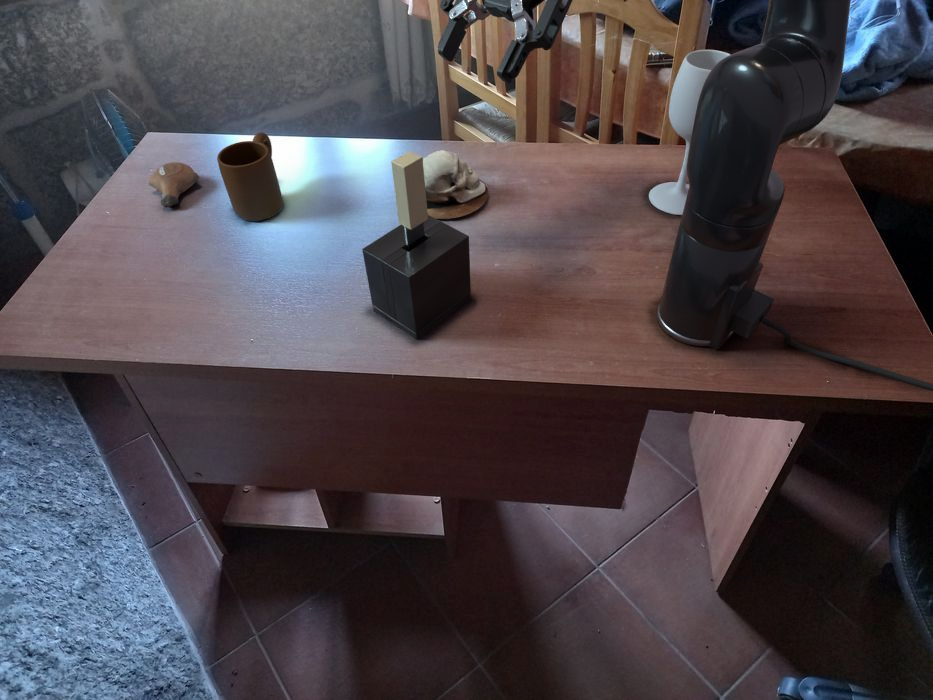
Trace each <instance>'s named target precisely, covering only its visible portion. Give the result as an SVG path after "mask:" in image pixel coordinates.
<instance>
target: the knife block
mask: <svg viewBox="0 0 933 700" xmlns="http://www.w3.org/2000/svg"><path fill="white" fill-rule="evenodd" d="M424 233H425V241H424V242H423V243H421V244H420V245H418V246H417V247H415V248H414V249H412V250H411V251H409V252H408V251H407V246H406V238H405V230H404V226H403V225H401V224H399V225H398V226H396V227H395V228H393V229H392V230H390V231H388V232H387V233H384V234H383V235H382V236H381V237H379V238H378V239H376V240H374V241H373V242H371V243H370V244H368V245H366V246H365V247H362V249H361V251H362V255H363V261H364V266H365V272H366V279H367V283H368V288H369V294H370V300H371V304H372V310H373V312H375V313H376V314H378V315H379V316H380V317H382V318H384V319H385V320H386V321H388V322H390V323H391V324H393V325H394V326H396V327H397V328H399V329H400V330H402V331H403V332H405V333H406V334H408V335H409V336H411V337H412V338H414V339H415V340H418V339H420V338H421V337H422V336H423V335H425V334H426V333H427V332H429V331H430V330H431V329H433V328H434V327H435V326H436V325H438V324H439V323H440V322H442V321H443V320H444V319H445V318H447V317H448V316H450V315H451V314H452V313H453V312H455V311H456V310H458V309H459V308H461V306H463V305H464V304H466V303H467V302H468V301H470V299H471V298H472V288H471V286H472V285H471V259H470V258H471V256H470V236H469V235H468V234H466V233H464V232H462V231H460V230H458V229H456V228H454V227H453V226H451V225H448V224H447V223H445V222H443V221H441V220H440V219H438V218H433V217H432V216H430V215H428V219H427V220H426V221H424Z"/></svg>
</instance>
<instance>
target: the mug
mask: <svg viewBox="0 0 933 700" xmlns="http://www.w3.org/2000/svg"><path fill="white" fill-rule="evenodd" d="M272 157H273V146H272V141H271V139H270V137H269V135H268V134H266V133H265V132H263V131H261V132H258V133H256V134H255V135H254V137H253V139H252V140H245V141H238V142H235V143H232V144H229V145H227V146H225V147H224V148H222V149H221V150H220V151H219V152H218V153H217V157H216V161H217V163H218V169H219V172H220V175H221V178H222V181H223V185H224V187H225V190H226V192H227V196H228V199H229V201H230V204H231V207H232V210H233V212H234V213H235V215H236V216H237V217H238V218H240V219H242V220H244V221H250V222H259V221H263V220H268V219H270V218H272V217H274V216H276V215H277V214H278V213H279V212H280V211H281V209H282V208H283V205H284V198H283V194H282V190H281V186H280V183H279V180H278V175H277V172H276V168H275V165H274V161H273V158H272Z"/></svg>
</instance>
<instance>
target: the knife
mask: <svg viewBox="0 0 933 700" xmlns="http://www.w3.org/2000/svg"><path fill="white" fill-rule="evenodd" d="M423 159H424V158H423V156H421V155H419V154H417V153H414V151H407V152H405V153H403V154H402V155H400V156H398V157H396V158H395V159H393V160H391V162H390V163H391V169H392V171H391V172H392V178H393V187H394V194H395V202H396V209H397V216H398V224H399V225H403V226H404V230H405V238H406V246H407V251H408V252H409V251H411V250H412V249H414V248H415V247H417V246H418V245H420V244H421V243H423V242H424V241H425V233H424V221H426V220H427V219H428V213H427V202H426V191H425V179H424V168H423Z"/></svg>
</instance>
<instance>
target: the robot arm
mask: <svg viewBox="0 0 933 700" xmlns="http://www.w3.org/2000/svg"><path fill="white" fill-rule="evenodd" d="M851 1H852V0H768V7H767V14H766V20H765V24H764V28H763V32H762V36H761V40H760V43H758V44H755V45H752V46H750V47H746V48H745V49H742V50H739V51H736V52H734V53H732V54H730V55H729V56H727V57H726V58H724V59H722V60H721V61H720V62H718V63H717V64H716V65H715V66H714V68H713V69H712V70H711V72H710V73H709V75H708V77H707V78H706V80H705V83H704V85H703V88H702V90H701V93H700V97H699V101H698V105H697V110H696V115H695V120H694V126H693V131H692V137H691V142H690V148H689V153H688V159H687V179H688V184H689V189H688V193H687V197H686V201H685V205H684V209H683V213H682V215H681V218H680V221H679V226H678V230H677V234H676V237H675V242H674V245H673V250H672V253H671V258H670V261H669V266H668V270H667V273H666V278H665V280H664V281H665V282H664V285H663V290H662V294H661V296H660V300H659V303H658V306H657V309H656V310H657V311H656V319H657V322H658V324H659V326H660V327H661V329H662V330H663V331H664V332H665V333H666V334H667V335H668V336H670V337H671V338H672V339H674V340H676V341H678V342H681V343H683V344H686V345H690V346H695V347H709V348H712V349H714V350H720V349H721V347H723V345H724V344H725V343H726V342H727V341H728V340H729V339H730V338H731V337H732V336H733V334H734V333H735V334H737V335H738V336H740V337H743V338H745V339H748V338H749V337H750V336H751V335H752V333H753V332H755V330H756V329H757V328H758V327H759V325H760V324H761V323H762V324H763V325H765V326H767V327H768V328H770V329H772V330H774V331H776V332H777V333H779V334H780V335H781V336H783V341H784V342H785V343H786V344H787V345H788V346H790V347H791V348H794V349H797V350H799V351H801V352H802V351H803V352H805V353H809V354H810V355H811V354H812V355H814V356H817V357H820V358H823V359H825V360H829V361H832V362H836V363H839V364H844V365H847V366H850V367H853V368H856V369H860V370H863V371H866V372H869V373H873V374H876V375H879V376H881V377H885V378H888V379H891V380H895V381H897V382H901V383H904V384H908V385H911V386H914V387H916V388H921V389H925V390H928V391H931V392H933V383H931V382H927V381H924V380H921V379H916V378H914V377H911V376H907V375H903V374H901V373H897V372H894V371H891V370H887V369H884V368H881V367H878V366H875V365H871V364H869V363H866V362H862V361H859V360H857V359H852V358H849V357H845V356H841V355H837V354H833V353H830V352H825V351H822V350H819V349H815V348H812V347H809V346H806V345H804V344H802V343H800V342H798V341H796V340H794V339H793V338H792V334H791V333H790V332H789V330H787V329H786V328H784V327H783V326H782V325H780V324H778V323H776V322H775V321H773V320H771V319H769V318H767V316H768V315H769V313H770V310H771V309H772V305H773V303H774V301H775V298H774V297H772V296H769V295H767V294H765V293H763V292H760V291H759V290H756V286H757V284H758V281H759V278H760V275H761V273H762V270H763V268H764V263H763V262H761V258H762V255H763V253H764V250H765V248H766V245H767V242H768V239H769V236H770V234H771V231H772V230H773V226H774V223H775V221H776V218H777V216H778V213H779V211H780V208H781V206H782V203H783V200H784V196H785V191H786V190H785V189H786V188H785V184H784V180H783V179H782V177H781V176H780V175H779V173H777V172H776V171H774V169H772V168H773V165H774V162H775V158H776V155H777V151H778V150H779V147H780V146H781V145H783V144H785V143H787V142H790V141H792V140H793V139H795V138H798V137H800V136H802V135H803V134H806V133H807V132H810V131H811V130H813V129H814V128H816V127H817V126H818V125H820V124H821V122H823V120H824V119H825V118H826V117H827V116H828V114H829V113H830V111H831V110H832V108H833V106H834V104H835V102H836V99H837V97H838V95H839V94H838V93H839V90H840V86H841V82H842V76H843V70H844V64H845V63H844V62H845V55H846V45H847V39H848V38H847V36H848V26H849V21H850V20H849V19H850V9H851ZM543 2H545V4H544V7H543V9H542V10H541V13H540V15H539V18H538V20H537V22H536V11H535V8H537V7H538V6H540V5H541V4H542V3H543ZM481 3H482V4H480V3H479V1H478V0H441V1H440V3H439V8H440V10H442V11H443V12H444V13H445V14H446V15H447V17H448V22H447V24H446V26H445V28H444V31H443V33H442V35H441V36H440V39H439V41H438V44H437V48H438V49H437V53H438V55H439V56H440V57H441V58H442V59H443V60H444V61H447V62H450V63H451V62H453V61H454V60H455V57H456V56H457V53H458V51H459V49H460V46H461V45H462V42H463V40H464V39H465V37H466V34H467V31H466V30H467V29H469V27H471V26H472V25H473V24H475V23H476V22H477V21H483V20H486V19H487V18H488V17H490V16H492V17H496V18H505V20H507V21H509V22H512V23H514V29H515V38H516V39H511V41H510V42H509V45H508V47H507V49H506V51H505V53H504V55H503V58H502V60H501V62H500V64H499V65H498V67H497V70H496V76H497V77H498V78H499V79H500V80H501V81H502V82H504V83H506V84H511V83H512V82H513V80H515V79H517V78H518V76H519V75H520V73H521V71H522V69H523V67H524V65H525V63H526V60H527V59H528V56H529V55H530V53H531V52H533V51H535V50H536V49H543V50H544V51H549V50H551V48H552V47H553V46H554V43H555V41H556V38H557V37H558V34H559V32H560V29H561V28H562V25H563V23H564V21H565V19H566V16H567V14H568V11H569V10H570V7H571V5H572V3H573V0H481Z"/></svg>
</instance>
